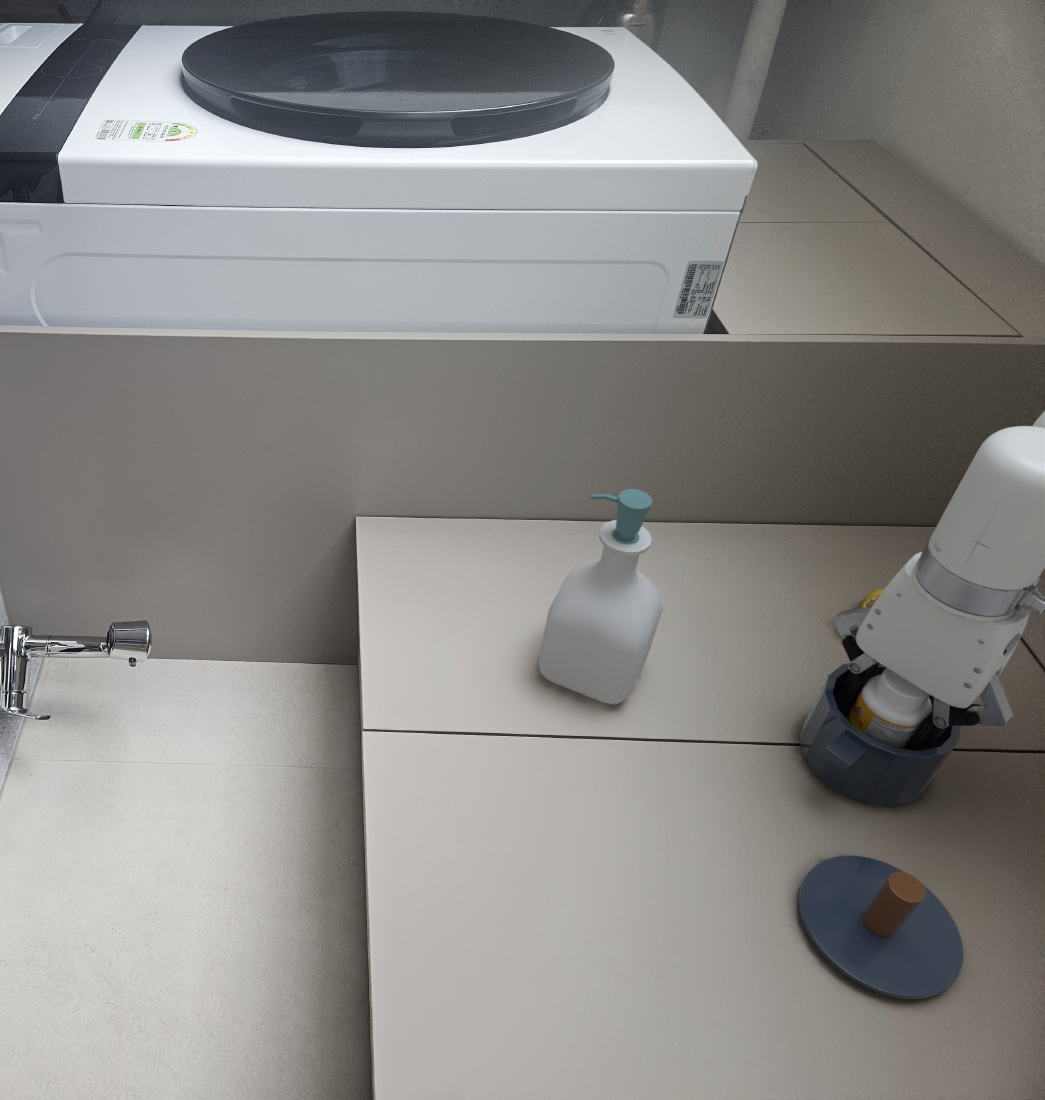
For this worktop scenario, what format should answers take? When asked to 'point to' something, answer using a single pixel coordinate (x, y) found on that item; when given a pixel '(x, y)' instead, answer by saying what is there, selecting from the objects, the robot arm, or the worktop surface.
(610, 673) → the soap bottle
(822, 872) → the lid
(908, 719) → the supplement bottle
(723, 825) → the worktop surface
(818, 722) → the pot
